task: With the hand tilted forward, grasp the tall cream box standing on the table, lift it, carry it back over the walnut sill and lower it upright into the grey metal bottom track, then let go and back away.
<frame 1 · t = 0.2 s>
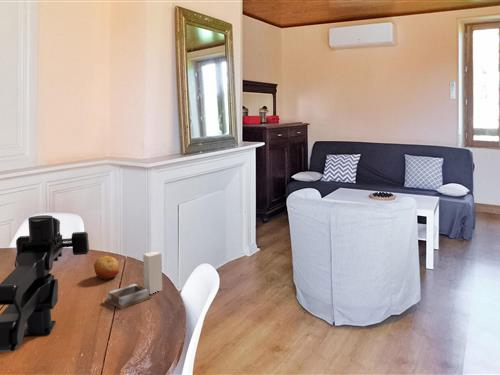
hand: (60, 238, 132), 16 cm above the table, tool horizontal, fingers open, 9 cm apart
tall cream box: (153, 291, 135), on the table
fruit: (106, 277, 145), on the table
track: (128, 299, 129), on the table
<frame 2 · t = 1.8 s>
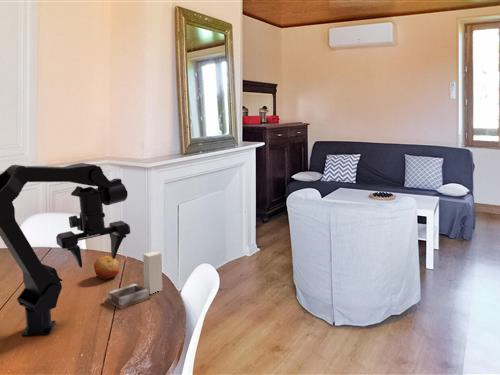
hand: (97, 263, 123), 13 cm above the table, tool pointing down, fingers open, 9 cm apart
nothing on the table moved.
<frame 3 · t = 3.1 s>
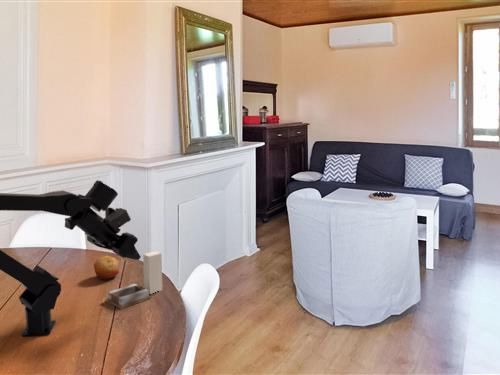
hand: (130, 254, 127), 13 cm above the table, tool tilted 45°, fingers open, 9 cm apart
nothing on the table moved.
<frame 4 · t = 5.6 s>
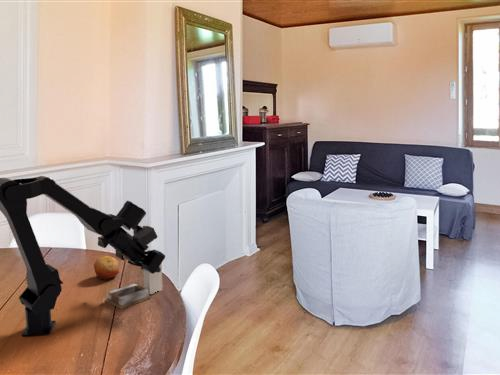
hand: (156, 269, 135), 7 cm above the table, tool tilted 45°, fingers closed on tall cream box, 3 cm apart
tall cream box: (153, 291, 135), on the table, touching gripper
everything else where it was.
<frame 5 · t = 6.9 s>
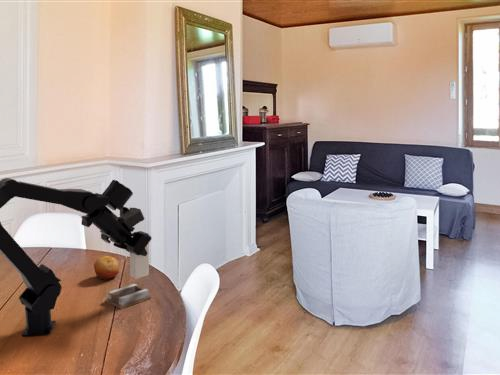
hand: (143, 253, 130), 13 cm above the table, tool tilted 45°, fingers closed on tall cream box, 3 cm apart
tall cream box: (139, 275, 130), point 6 cm above the table, touching gripper
everything else where it was.
when the fingers open (9 cm above the table, at t = 8.6 s): tall cream box drops 1 cm, resting on track.
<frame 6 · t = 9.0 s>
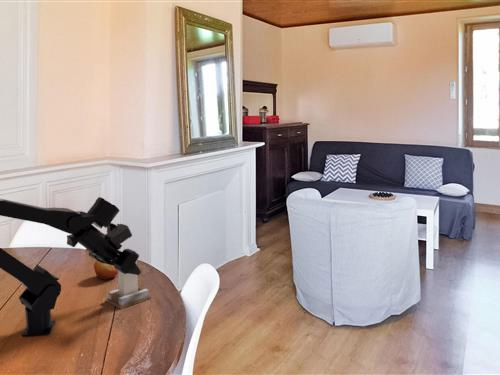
hand: (132, 269, 128), 9 cm above the table, tool tilted 45°, fingers open, 8 cm apart
tall cream box: (128, 297, 129), point 1 cm above the table, touching track
everything else where it was.
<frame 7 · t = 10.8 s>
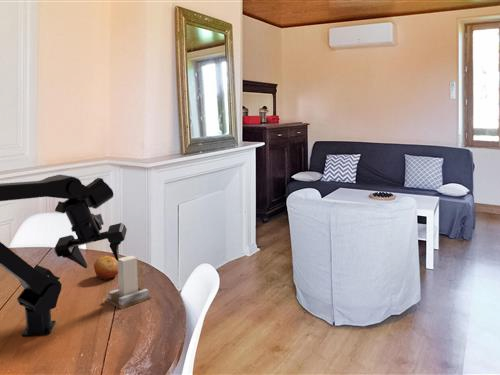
hand: (102, 263, 124), 12 cm above the table, tool tilted 20°, fingers open, 9 cm apart
nothing on the table moved.
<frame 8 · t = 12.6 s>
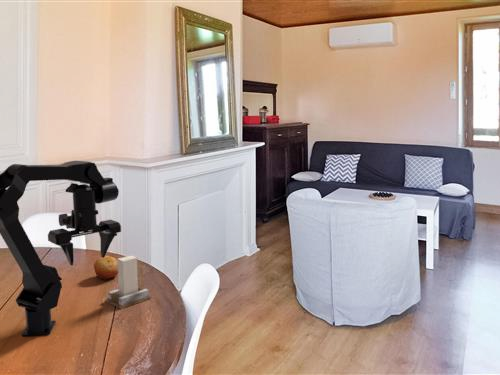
hand: (87, 261, 122), 13 cm above the table, tool pointing down, fingers open, 9 cm apart
nothing on the table moved.
at the end: tall cream box 0.0 cm from the track (horizontally); tall cream box point 0.6 cm above the table; tall cream box tilted 0° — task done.
